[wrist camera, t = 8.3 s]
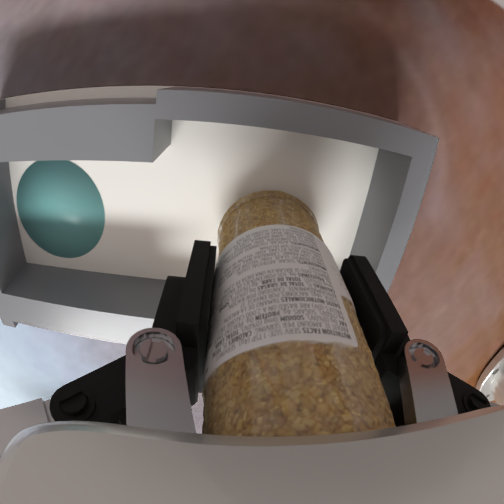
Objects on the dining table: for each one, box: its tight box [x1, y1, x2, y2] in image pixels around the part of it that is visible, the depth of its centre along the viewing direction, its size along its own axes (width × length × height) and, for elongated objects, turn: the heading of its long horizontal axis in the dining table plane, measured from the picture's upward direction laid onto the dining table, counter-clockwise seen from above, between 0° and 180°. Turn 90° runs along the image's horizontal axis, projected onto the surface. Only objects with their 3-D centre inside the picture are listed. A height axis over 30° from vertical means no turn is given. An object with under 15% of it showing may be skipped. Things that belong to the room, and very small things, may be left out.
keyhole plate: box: [0, 86, 439, 344], centre depth 13 cm, size 20×12×4 cm, turn 83°
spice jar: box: [202, 191, 396, 437], centre depth 9 cm, size 5×5×13 cm
